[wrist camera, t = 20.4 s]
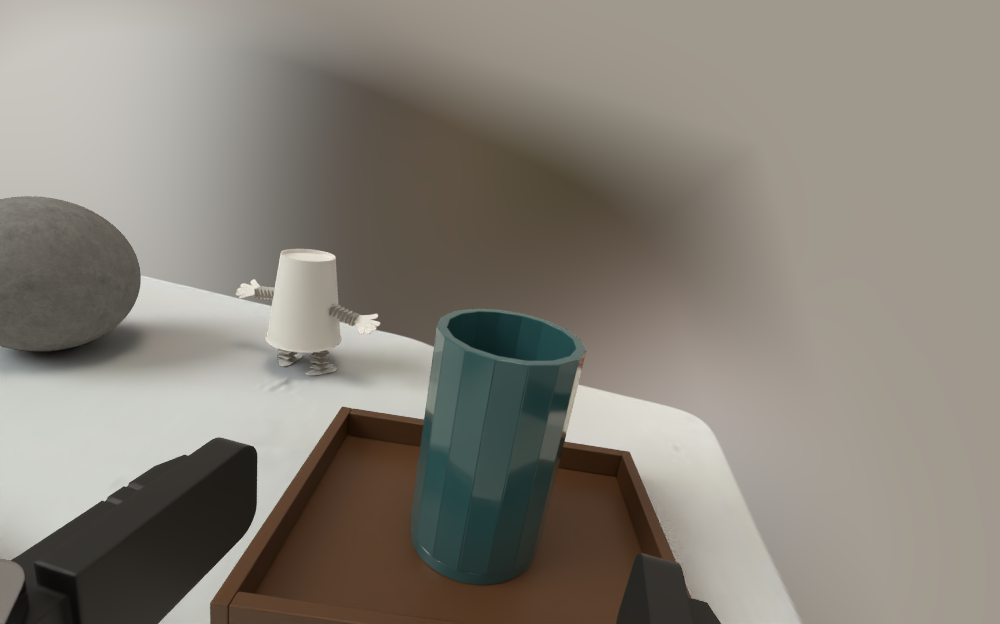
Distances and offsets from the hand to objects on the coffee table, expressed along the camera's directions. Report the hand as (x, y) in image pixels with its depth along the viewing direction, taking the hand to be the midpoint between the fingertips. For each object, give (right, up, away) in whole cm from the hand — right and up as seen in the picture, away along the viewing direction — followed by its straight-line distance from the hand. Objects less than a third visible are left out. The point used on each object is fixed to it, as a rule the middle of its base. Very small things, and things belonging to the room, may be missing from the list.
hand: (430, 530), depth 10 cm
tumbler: (0, -6, +13) cm, 14 cm away
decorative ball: (-29, +2, +24) cm, 38 cm away
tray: (0, -6, +13) cm, 15 cm away
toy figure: (-13, 0, +27) cm, 30 cm away
